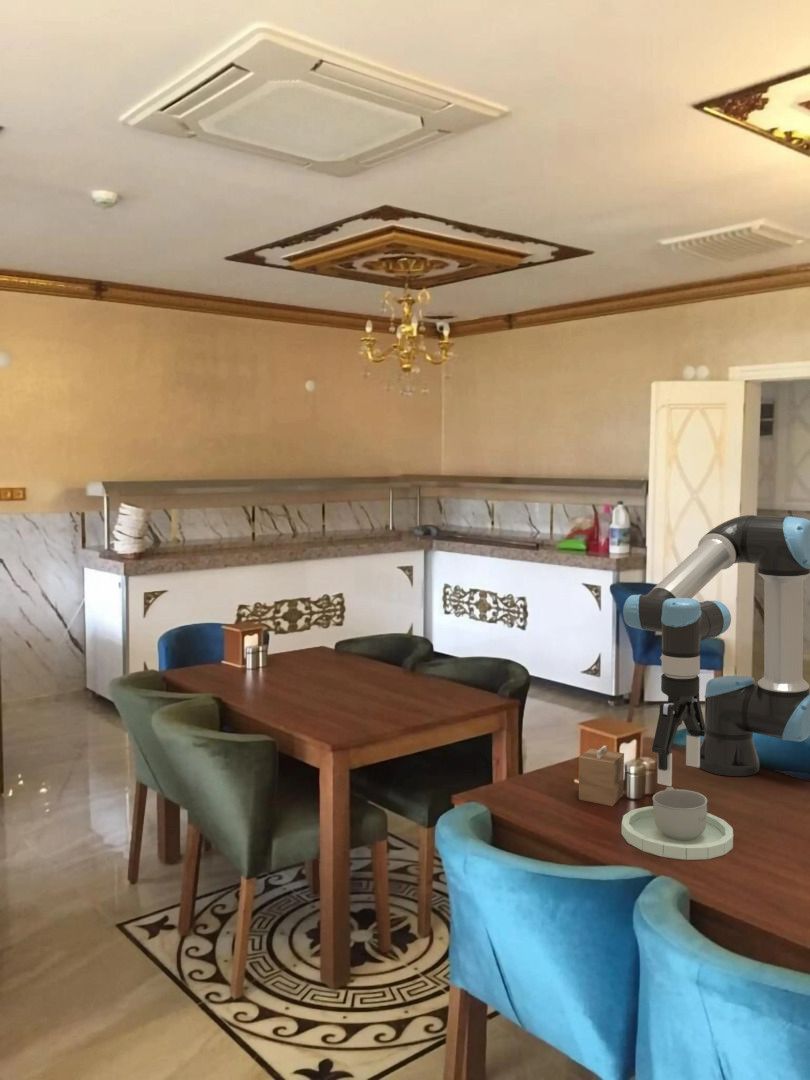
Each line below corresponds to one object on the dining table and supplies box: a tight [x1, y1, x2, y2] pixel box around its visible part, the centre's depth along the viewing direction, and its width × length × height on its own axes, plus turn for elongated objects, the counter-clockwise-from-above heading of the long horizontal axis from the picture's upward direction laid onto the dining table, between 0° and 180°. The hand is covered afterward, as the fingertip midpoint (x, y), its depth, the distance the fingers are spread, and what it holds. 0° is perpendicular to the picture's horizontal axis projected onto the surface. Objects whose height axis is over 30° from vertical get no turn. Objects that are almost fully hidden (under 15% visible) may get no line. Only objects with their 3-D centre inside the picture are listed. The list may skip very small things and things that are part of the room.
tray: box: [620, 805, 734, 861], centre depth 191 cm, size 22×22×2 cm
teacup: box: [652, 786, 708, 840], centre depth 191 cm, size 14×11×8 cm
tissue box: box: [578, 745, 625, 807], centre depth 213 cm, size 8×8×12 cm
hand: (679, 775), depth 190 cm, fingers open, 13 cm apart
